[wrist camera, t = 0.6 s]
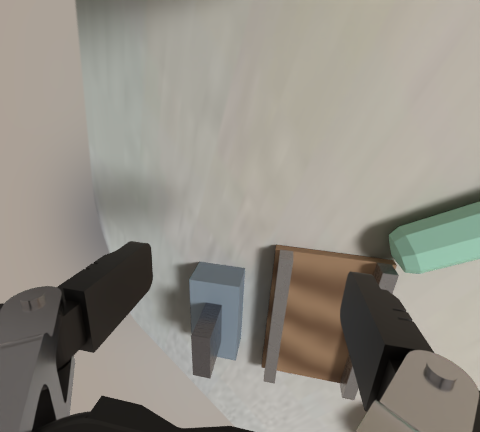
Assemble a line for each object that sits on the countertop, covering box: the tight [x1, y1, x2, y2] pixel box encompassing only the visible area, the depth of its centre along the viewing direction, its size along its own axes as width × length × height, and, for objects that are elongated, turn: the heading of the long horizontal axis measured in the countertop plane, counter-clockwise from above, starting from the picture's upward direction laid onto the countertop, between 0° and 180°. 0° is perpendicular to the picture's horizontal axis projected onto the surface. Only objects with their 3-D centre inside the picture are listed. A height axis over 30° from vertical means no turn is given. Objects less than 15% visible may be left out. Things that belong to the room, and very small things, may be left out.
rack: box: [262, 245, 399, 400], centre depth 32 cm, size 20×13×3 cm, turn 178°
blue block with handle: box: [189, 262, 245, 378], centre depth 32 cm, size 12×6×9 cm, turn 178°
